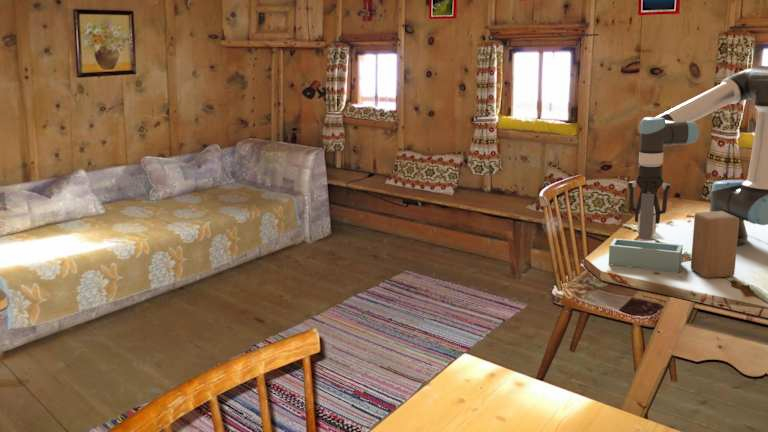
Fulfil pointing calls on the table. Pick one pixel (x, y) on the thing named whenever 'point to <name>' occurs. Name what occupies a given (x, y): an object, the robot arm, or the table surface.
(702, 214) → the wooden block
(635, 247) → the grey-green open box
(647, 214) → the brushed steel bar
